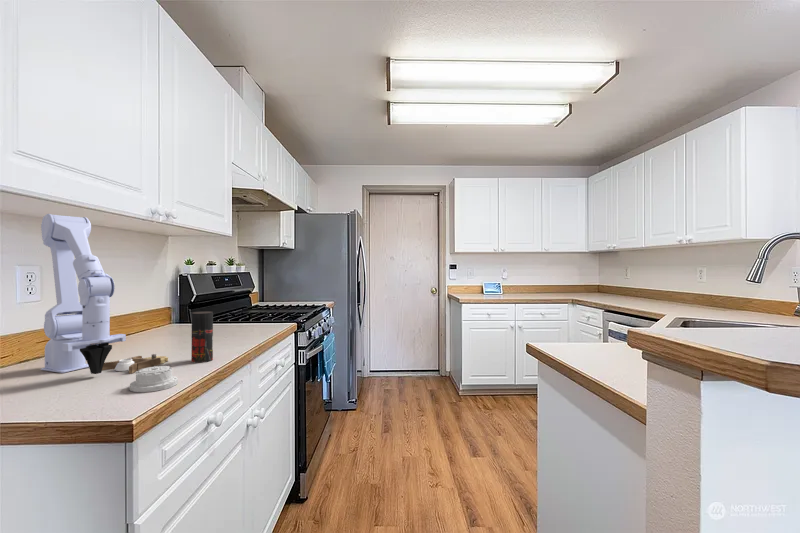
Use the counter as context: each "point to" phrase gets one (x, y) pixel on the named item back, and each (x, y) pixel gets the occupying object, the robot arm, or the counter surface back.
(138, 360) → the gear station
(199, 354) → the deodorant
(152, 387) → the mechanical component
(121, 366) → the white jar
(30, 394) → the counter surface
